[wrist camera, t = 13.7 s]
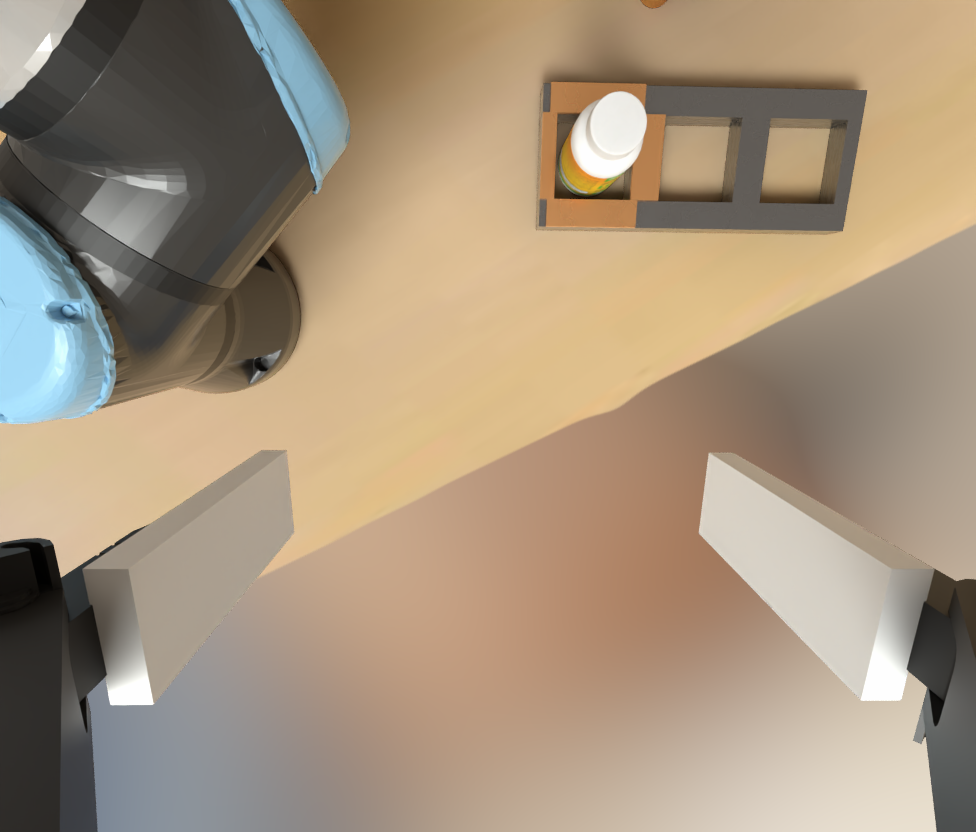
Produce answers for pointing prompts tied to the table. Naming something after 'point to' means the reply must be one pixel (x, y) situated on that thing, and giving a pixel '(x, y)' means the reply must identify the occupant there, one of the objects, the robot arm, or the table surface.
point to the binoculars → (653, 3)
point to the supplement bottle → (602, 143)
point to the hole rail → (743, 170)
